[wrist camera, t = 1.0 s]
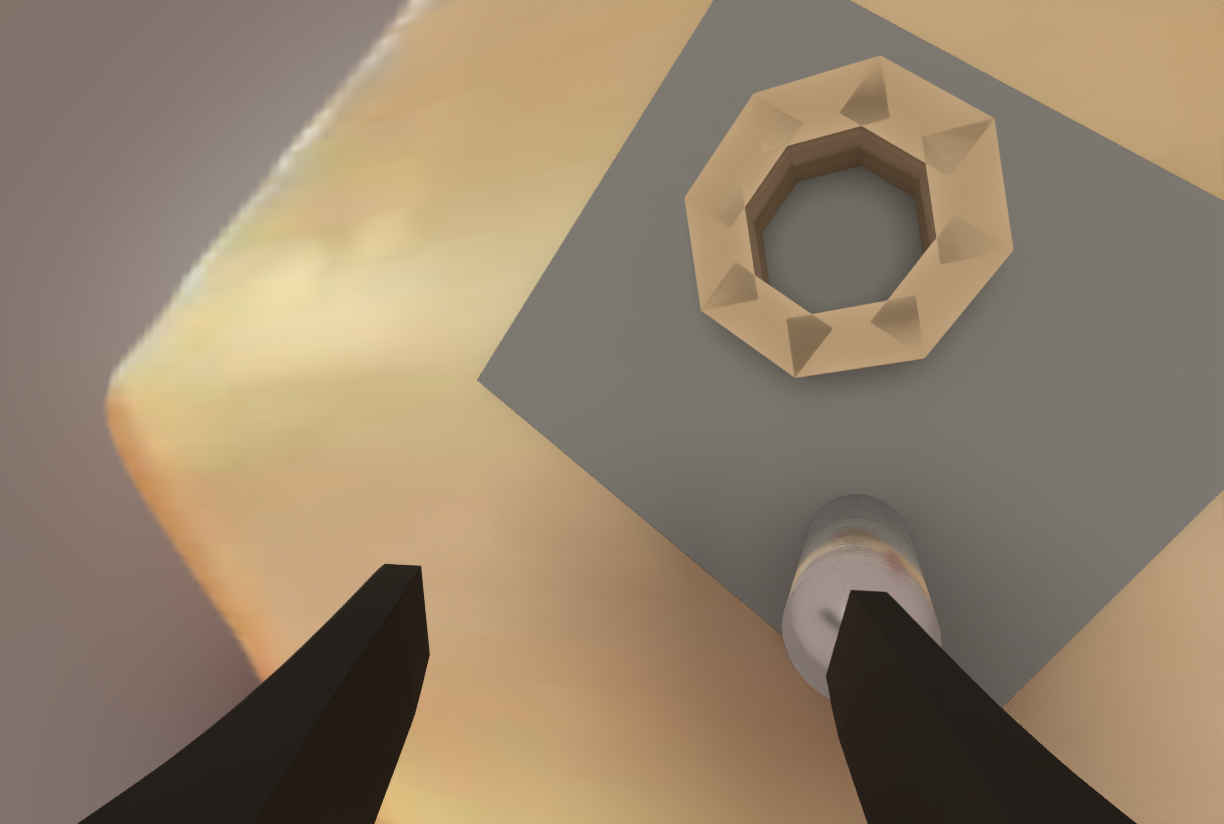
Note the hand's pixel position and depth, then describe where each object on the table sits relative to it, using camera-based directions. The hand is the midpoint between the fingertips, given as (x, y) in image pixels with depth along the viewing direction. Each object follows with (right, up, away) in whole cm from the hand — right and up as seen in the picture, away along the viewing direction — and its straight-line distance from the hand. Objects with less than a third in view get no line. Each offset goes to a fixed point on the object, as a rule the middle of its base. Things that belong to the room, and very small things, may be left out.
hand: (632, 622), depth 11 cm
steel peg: (+7, 0, +10) cm, 12 cm away
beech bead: (+7, +9, +9) cm, 14 cm away
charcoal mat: (+7, +6, +10) cm, 13 cm away
